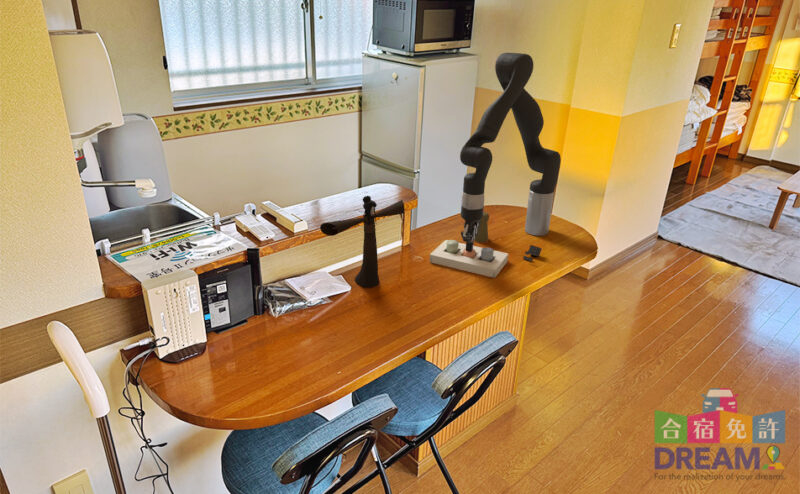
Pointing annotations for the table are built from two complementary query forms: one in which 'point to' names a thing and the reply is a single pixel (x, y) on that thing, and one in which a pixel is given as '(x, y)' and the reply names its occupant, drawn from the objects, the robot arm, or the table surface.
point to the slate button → (487, 254)
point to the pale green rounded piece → (452, 246)
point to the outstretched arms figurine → (365, 237)
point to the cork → (483, 229)
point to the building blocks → (532, 252)
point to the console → (469, 260)
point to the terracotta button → (469, 253)
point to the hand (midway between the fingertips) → (469, 250)
